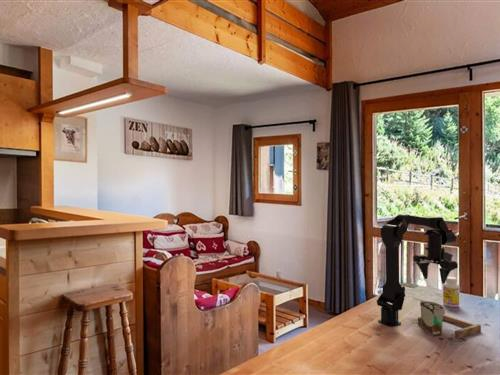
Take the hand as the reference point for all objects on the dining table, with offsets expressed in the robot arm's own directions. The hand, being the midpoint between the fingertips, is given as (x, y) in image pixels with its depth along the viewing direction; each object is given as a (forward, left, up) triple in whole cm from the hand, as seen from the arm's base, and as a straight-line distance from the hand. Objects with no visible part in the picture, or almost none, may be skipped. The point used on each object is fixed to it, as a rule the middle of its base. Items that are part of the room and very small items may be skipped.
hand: (434, 281), depth 161 cm
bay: (-16, -13, -14) cm, 25 cm away
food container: (-17, -13, -15) cm, 26 cm away
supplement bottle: (+18, +4, -15) cm, 23 cm away
